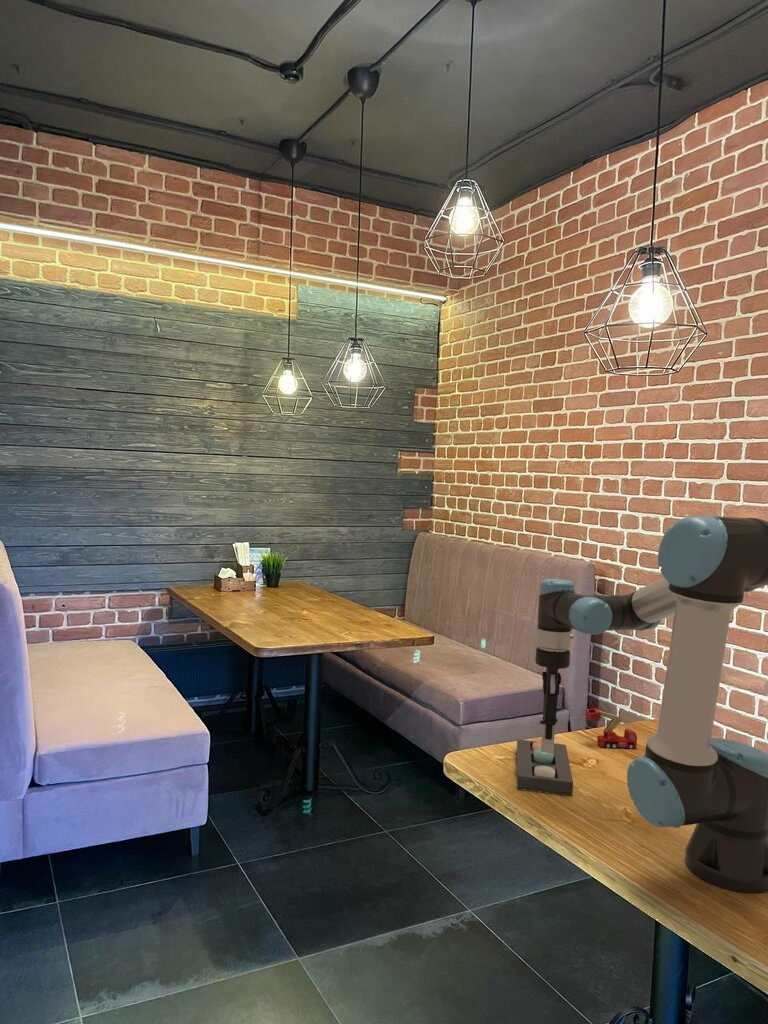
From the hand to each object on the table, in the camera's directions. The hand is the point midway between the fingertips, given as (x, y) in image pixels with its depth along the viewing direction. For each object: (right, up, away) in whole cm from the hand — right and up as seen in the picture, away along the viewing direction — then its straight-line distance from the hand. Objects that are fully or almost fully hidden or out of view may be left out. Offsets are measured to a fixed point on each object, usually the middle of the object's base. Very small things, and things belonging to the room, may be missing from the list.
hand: (547, 751), depth 171 cm
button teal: (+1, -6, +9) cm, 10 cm away
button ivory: (-1, -7, +1) cm, 7 cm away
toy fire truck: (+23, -8, +29) cm, 38 cm away
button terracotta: (+2, -7, +16) cm, 18 cm away
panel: (+1, -8, +9) cm, 11 cm away
